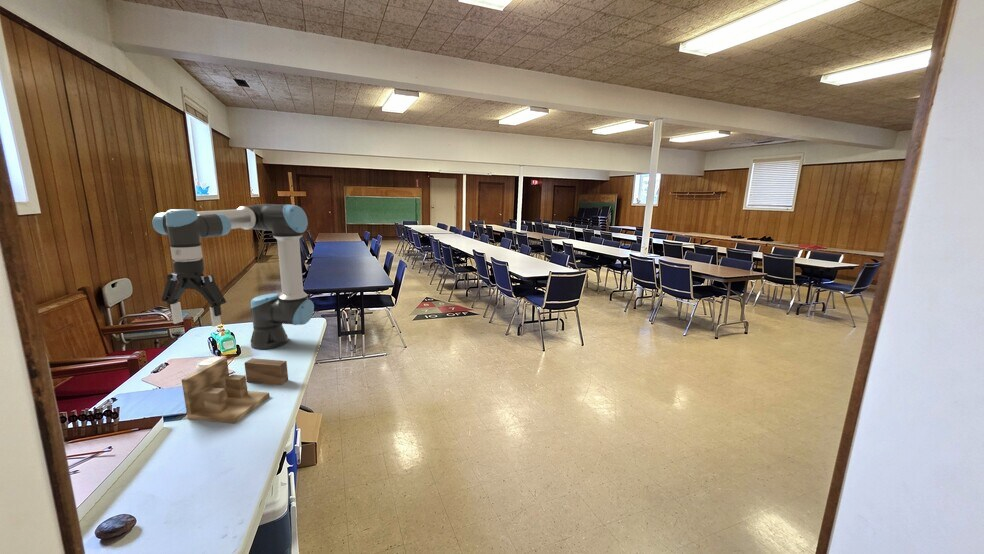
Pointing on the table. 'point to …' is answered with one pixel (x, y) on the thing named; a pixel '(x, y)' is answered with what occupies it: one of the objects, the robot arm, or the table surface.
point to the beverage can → (207, 362)
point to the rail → (266, 371)
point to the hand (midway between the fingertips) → (197, 323)
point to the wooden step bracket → (219, 394)
